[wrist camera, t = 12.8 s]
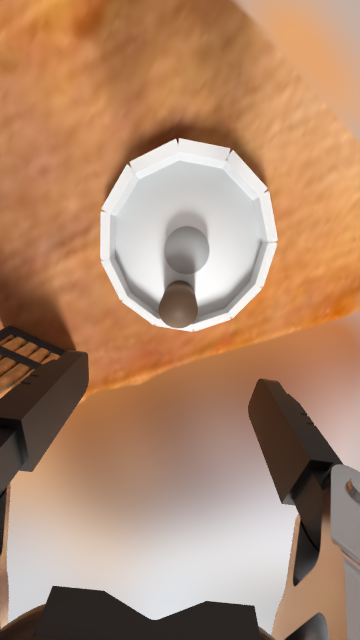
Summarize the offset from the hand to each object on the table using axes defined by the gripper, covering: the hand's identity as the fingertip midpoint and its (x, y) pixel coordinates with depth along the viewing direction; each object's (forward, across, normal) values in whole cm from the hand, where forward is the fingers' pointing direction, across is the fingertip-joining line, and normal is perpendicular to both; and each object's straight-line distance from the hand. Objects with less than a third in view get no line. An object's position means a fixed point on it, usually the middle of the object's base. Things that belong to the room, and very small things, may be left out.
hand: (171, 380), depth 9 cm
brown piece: (+17, 0, 0) cm, 17 cm away
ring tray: (+18, 0, -5) cm, 18 cm away
